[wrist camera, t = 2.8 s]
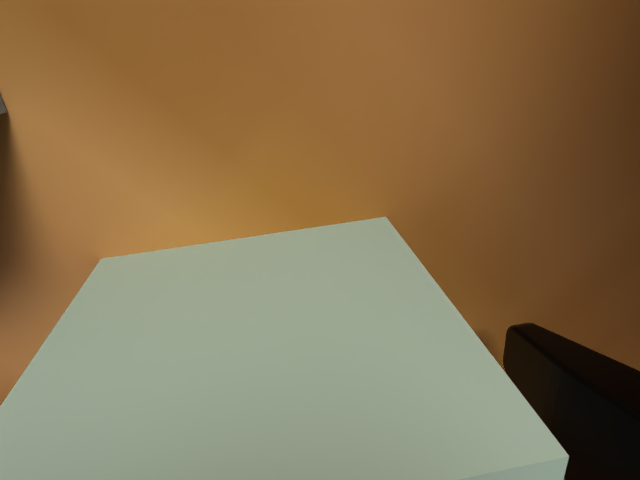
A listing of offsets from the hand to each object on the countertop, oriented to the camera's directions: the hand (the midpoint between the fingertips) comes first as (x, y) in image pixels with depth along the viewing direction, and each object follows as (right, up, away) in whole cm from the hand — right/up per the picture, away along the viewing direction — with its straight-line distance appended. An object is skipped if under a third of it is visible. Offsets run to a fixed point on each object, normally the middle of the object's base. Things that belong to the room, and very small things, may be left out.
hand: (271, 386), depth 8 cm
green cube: (0, 0, +1) cm, 1 cm away
